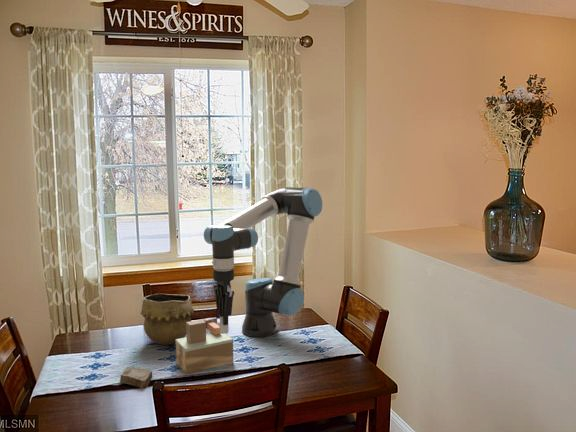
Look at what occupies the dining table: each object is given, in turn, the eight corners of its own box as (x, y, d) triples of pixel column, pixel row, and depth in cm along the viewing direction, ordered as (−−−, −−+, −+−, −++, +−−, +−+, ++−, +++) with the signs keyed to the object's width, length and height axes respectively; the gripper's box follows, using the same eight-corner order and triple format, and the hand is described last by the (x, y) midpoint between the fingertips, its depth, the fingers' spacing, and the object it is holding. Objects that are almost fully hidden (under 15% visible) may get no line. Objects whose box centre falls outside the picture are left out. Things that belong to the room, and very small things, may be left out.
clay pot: (161, 331, 215) (159, 286, 213) (204, 337, 208) (202, 290, 206) (130, 348, 196) (128, 299, 194) (177, 355, 189) (175, 304, 187)
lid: (175, 342, 181) (174, 320, 180) (220, 332, 190) (220, 312, 189) (185, 351, 172) (185, 329, 171) (233, 341, 181) (232, 320, 180)
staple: (202, 351, 192) (201, 319, 191) (216, 348, 195) (215, 317, 194) (204, 353, 191) (203, 320, 189) (217, 350, 194) (216, 318, 192)
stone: (112, 380, 169) (111, 371, 168) (130, 371, 176) (130, 363, 175) (144, 389, 161) (143, 381, 161) (162, 380, 169) (161, 371, 168)
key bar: (202, 326, 194) (202, 319, 194) (210, 325, 196) (209, 317, 195) (214, 336, 184) (214, 327, 184) (222, 334, 186) (222, 326, 185)
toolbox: (176, 362, 182) (175, 342, 181) (221, 352, 191) (220, 332, 190) (186, 373, 173) (185, 351, 172) (233, 362, 182) (233, 341, 181)
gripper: (206, 266, 180) (207, 329, 183) (221, 273, 169) (222, 340, 172) (225, 264, 184) (226, 325, 187) (240, 271, 173) (241, 336, 176)
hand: (224, 332), depth 179 cm, fingers closed
